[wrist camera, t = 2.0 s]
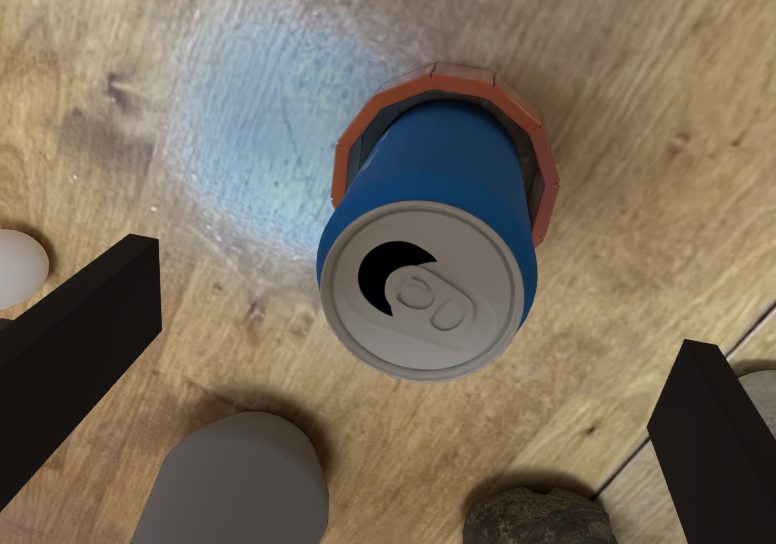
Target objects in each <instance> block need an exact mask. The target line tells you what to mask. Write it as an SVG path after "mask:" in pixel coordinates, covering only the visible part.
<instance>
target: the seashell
mask: <svg viewBox="0 0 776 544" xmlns="http://www.w3.org/2000/svg"><path fill="white" fill-rule="evenodd" d="M463 544H617V542H616V539H615V537H614V535H613V534H612V531H611V528H610V521H609V515H608V514H607V513H606V512H605V511H604V510H603V509H602V508H600V507H599V506H598V505H596V504H595V503H594V502H592V501H590V500H589V499H587V498H585V497H584V496H582V495H579V494H576V493H574V492H571V491H569V490H568V489H563V488H557V487H555V488H554V489H552V490H551V491H550V492H549V493H548V494H547V495H543V494H537V493H533V492H532V491H530V490H529V489H526V488H523V487H520V488H514V489H510V490H507V491H505V492H501V493H499V494H497V495H493V496H490V497H487V498H486V499H484V500H481V501H480V502H479V503H478V504H476V505H475V506H473V507H472V508H470V509H469V511H468V514H467V518H466V521H465V524H464V531H463Z"/></svg>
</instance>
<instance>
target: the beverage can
mask: <svg viewBox="0 0 776 544" xmlns="http://www.w3.org/2000/svg"><path fill="white" fill-rule="evenodd" d="M316 268H317V281H318V285H319V290H320V295H321V302H322V307H323V311H324V314H325V316H326V319H327V322H328V324H329V326H330V327H331V329H332V331H333V333H334V334H335V336H336V337H337V339H338V340H339V341H340V342H341V344H342V345H343V346H344V347H345V348H346V349H347V350H348V351H349V352H350V353H351V354H352V355H353V356H354V357H356V358H357V359H358V360H360V361H361V362H362V363H364V364H365V365H367V366H369V367H370V368H372V369H374V370H376V371H378V372H380V373H383V374H385V375H387V376H390V377H394V378H397V379H400V380H405V381H410V382H420V383H438V382H446V381H451V380H456V379H460V378H463V377H465V376H468V375H471V374H473V373H475V372H477V371H479V370H481V369H483V368H484V367H486V366H487V365H489V364H490V363H492V362H493V361H494V360H495V359H496V358H497V357H499V356H500V355H501V354H502V353H503V352H504V350H505V349H506V348H507V347H508V346H509V344H510V343H511V341H512V339H513V338H514V336H515V335H516V332H517V331H518V330H519V329H520V327H521V326H522V324H523V322H524V321H525V319H526V318H527V315H528V313H529V311H530V309H531V306H532V304H533V300H534V297H535V293H536V287H537V278H538V277H537V261H536V255H535V249H534V243H533V237H532V231H531V225H530V219H529V213H528V207H527V201H526V195H525V189H524V183H523V177H522V171H521V165H520V160H519V155H518V151H517V148H516V145H515V143H514V141H513V139H512V137H511V136H510V134H509V133H508V131H507V130H506V128H505V127H504V126H503V125H502V124H501V123H500V122H499V121H498V120H497V119H496V118H495V117H493V116H492V115H491V114H490V113H488V112H486V111H485V110H483V109H481V108H479V107H477V106H475V105H472V104H469V103H466V102H461V101H455V100H437V101H430V102H426V103H422V104H420V105H417V106H415V107H412V108H411V109H409V110H407V111H405V112H404V113H402V114H401V115H400V116H398V117H397V118H396V119H395V120H394V121H393V122H392V123H391V124H390V125H389V126H388V127H387V129H386V130H385V131H384V132H383V134H382V136H381V137H380V139H379V140H378V142H377V144H376V145H375V147H374V149H373V150H372V152H371V153H370V155H369V157H368V158H367V160H366V161H365V163H364V165H363V166H362V168H361V169H360V171H359V173H358V174H357V176H356V178H355V179H354V181H353V182H352V184H351V186H350V187H349V189H348V190H347V192H346V194H345V195H344V197H343V198H342V200H341V202H340V203H339V205H338V207H337V208H336V210H335V211H334V213H333V215H332V216H331V218H330V220H329V221H328V223H327V225H326V227H325V229H324V232H323V234H322V237H321V239H320V243H319V248H318V252H317V264H316Z"/></svg>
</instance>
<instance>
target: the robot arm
mask: <svg viewBox="0 0 776 544" xmlns="http://www.w3.org/2000/svg"><path fill="white" fill-rule="evenodd" d="M161 331H162V318H161V291H160V264H159V239H156V238H150V237H145V236H140V235H134V234H128V235H127V236H126V237H124V238H123V239H122V240H120V241H119V242H118V243H116V244H115V245H114V246H112V247H111V248H110V249H108V250H107V251H106V252H104V253H103V254H102V255H100V256H99V257H98V258H96V259H95V260H94V261H92V262H91V263H90V264H88V265H87V266H86V267H84V268H83V269H82V270H80V271H79V272H78V273H76V274H75V275H74V276H72V277H71V278H70V279H68V280H67V281H66V282H64V283H63V284H62V285H60V286H59V287H58V288H56V289H55V290H54V291H52V292H51V293H50V294H48V295H47V296H46V297H44V298H43V299H42V300H40V301H39V302H38V303H36V304H35V305H34V306H32V307H31V308H30V309H28V310H27V311H26V312H24V313H23V314H22V315H20V316H19V317H17V318H16V319H15V320H9V319H4V318H1V319H0V512H1V511H2V510H3V509H4V508H5V507H6V506H7V504H8V503H9V502H10V501H11V500H12V499H13V498H14V496H15V495H16V494H17V493H18V492H19V491H20V490H21V489H22V487H23V486H24V485H25V484H26V483H27V482H28V481H29V480H30V478H31V477H32V476H33V475H34V474H35V473H36V472H37V471H38V469H39V468H40V467H41V466H42V465H43V464H44V463H45V462H46V460H47V459H48V458H49V457H50V456H51V455H52V454H53V453H54V451H55V450H56V449H57V448H58V447H59V446H60V445H61V444H62V442H63V441H64V440H65V439H66V438H67V437H68V436H69V435H70V433H71V432H72V431H73V430H74V429H75V428H76V427H77V426H78V424H79V423H80V422H81V421H82V420H83V419H84V418H85V417H86V415H87V414H88V413H89V412H90V411H91V410H92V409H93V408H94V406H95V405H96V404H97V403H98V402H99V401H100V400H101V399H102V397H103V396H104V395H105V394H106V393H107V392H108V391H109V390H110V388H111V387H112V386H113V385H114V384H115V383H116V382H117V381H118V379H119V378H120V377H121V376H122V375H123V374H124V373H125V372H126V370H127V369H128V368H129V367H130V366H131V365H132V364H133V363H134V361H135V360H136V359H137V358H138V357H139V356H140V355H141V353H142V352H143V351H144V350H145V349H146V348H147V347H148V346H149V344H150V343H151V342H152V341H153V340H154V339H155V338H156V337H157V335H158V334H159V333H160V332H161ZM647 430H648V432H649V435H650V438H651V441H652V444H653V446H654V449H655V452H656V455H657V458H658V461H659V463H660V466H661V469H662V472H663V475H664V477H665V480H666V483H667V486H668V489H669V491H670V494H671V497H672V500H673V503H674V505H675V508H676V511H677V514H678V517H679V519H680V522H681V525H682V528H683V531H684V534H685V536H686V539H687V542H688V544H776V439H775V437H774V436H773V434H772V433H771V431H770V429H769V428H768V426H767V425H766V423H765V421H764V420H763V418H762V417H761V415H760V413H759V412H758V410H757V408H756V407H755V405H754V404H753V402H752V400H751V399H750V397H749V396H748V394H747V392H746V391H745V389H744V388H743V386H742V384H741V383H740V381H739V379H738V378H737V376H736V375H735V373H734V371H733V370H732V368H731V367H730V365H729V363H728V362H727V360H726V359H725V357H724V355H723V354H722V352H721V351H720V349H719V347H718V346H717V345H714V344H709V343H704V342H698V341H693V340H688V339H684V342H683V344H682V346H681V348H680V351H679V353H678V355H677V358H676V360H675V362H674V365H673V367H672V369H671V372H670V374H669V376H668V379H667V381H666V383H665V385H664V388H663V390H662V392H661V395H660V397H659V399H658V402H657V404H656V406H655V409H654V411H653V413H652V416H651V418H650V420H649V422H648V425H647Z"/></svg>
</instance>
